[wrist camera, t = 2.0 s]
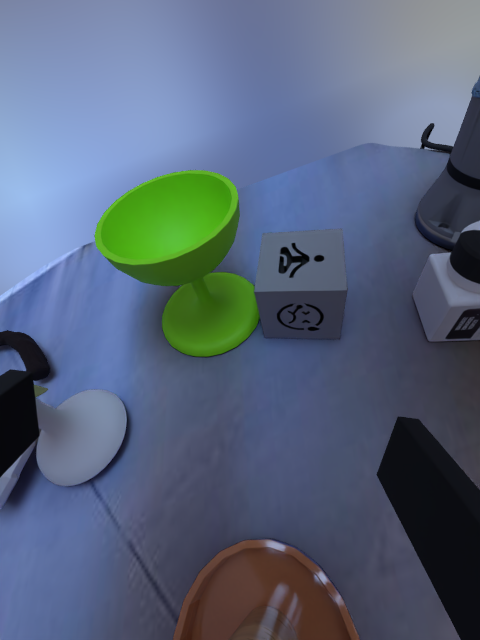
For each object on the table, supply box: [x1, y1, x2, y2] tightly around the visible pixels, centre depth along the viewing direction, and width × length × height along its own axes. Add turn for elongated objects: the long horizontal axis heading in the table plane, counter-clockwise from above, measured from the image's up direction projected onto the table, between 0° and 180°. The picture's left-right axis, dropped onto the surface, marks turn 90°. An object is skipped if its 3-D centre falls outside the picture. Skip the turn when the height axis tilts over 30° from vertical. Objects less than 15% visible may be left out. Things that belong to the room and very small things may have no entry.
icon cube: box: [254, 229, 347, 339], centre depth 39 cm, size 10×10×10 cm
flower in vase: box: [34, 385, 127, 486], centre depth 28 cm, size 13×11×25 cm
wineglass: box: [95, 170, 260, 357], centre depth 39 cm, size 16×16×18 cm
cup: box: [0, 403, 53, 509], centre depth 34 cm, size 7×7×11 cm
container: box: [413, 221, 480, 342], centre depth 33 cm, size 8×8×13 cm
